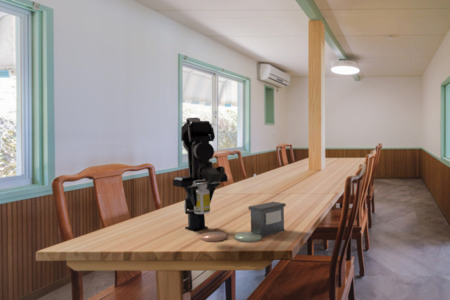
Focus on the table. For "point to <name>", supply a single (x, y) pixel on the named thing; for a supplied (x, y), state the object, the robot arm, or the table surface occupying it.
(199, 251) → the table surface
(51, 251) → the table surface
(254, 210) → the box unit
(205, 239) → the peach domed disc
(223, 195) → the table surface
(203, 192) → the supplement bottle
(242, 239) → the sage coaster
